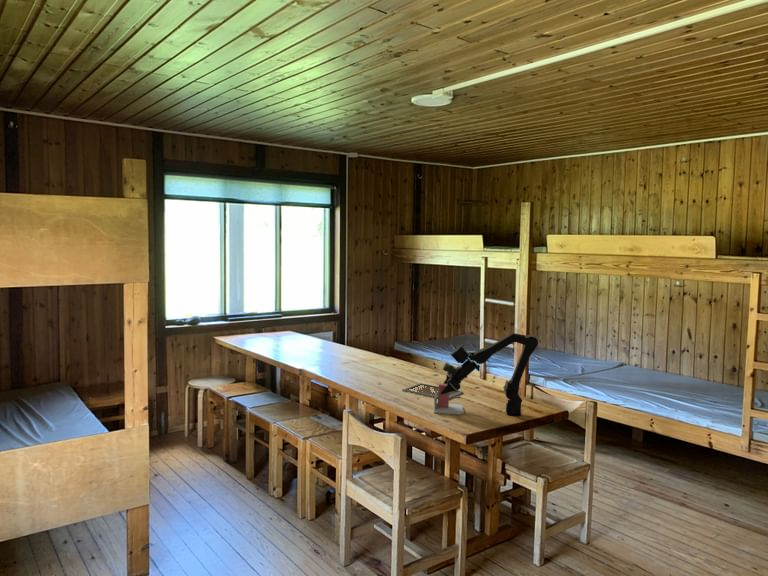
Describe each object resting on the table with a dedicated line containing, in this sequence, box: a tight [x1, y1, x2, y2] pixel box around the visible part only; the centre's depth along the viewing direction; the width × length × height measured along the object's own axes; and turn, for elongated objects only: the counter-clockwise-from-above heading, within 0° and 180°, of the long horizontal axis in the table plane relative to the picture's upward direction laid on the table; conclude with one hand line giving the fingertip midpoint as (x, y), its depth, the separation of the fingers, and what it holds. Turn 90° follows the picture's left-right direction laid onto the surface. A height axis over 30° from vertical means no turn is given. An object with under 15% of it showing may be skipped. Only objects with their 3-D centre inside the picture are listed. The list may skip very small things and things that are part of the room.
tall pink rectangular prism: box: [437, 383, 450, 408], centre depth 277 cm, size 5×4×11 cm
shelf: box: [433, 391, 465, 415], centre depth 277 cm, size 14×12×8 cm
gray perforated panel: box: [401, 382, 464, 400], centre depth 309 cm, size 19×2×30 cm
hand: (440, 391), depth 277 cm, fingers open, 9 cm apart
